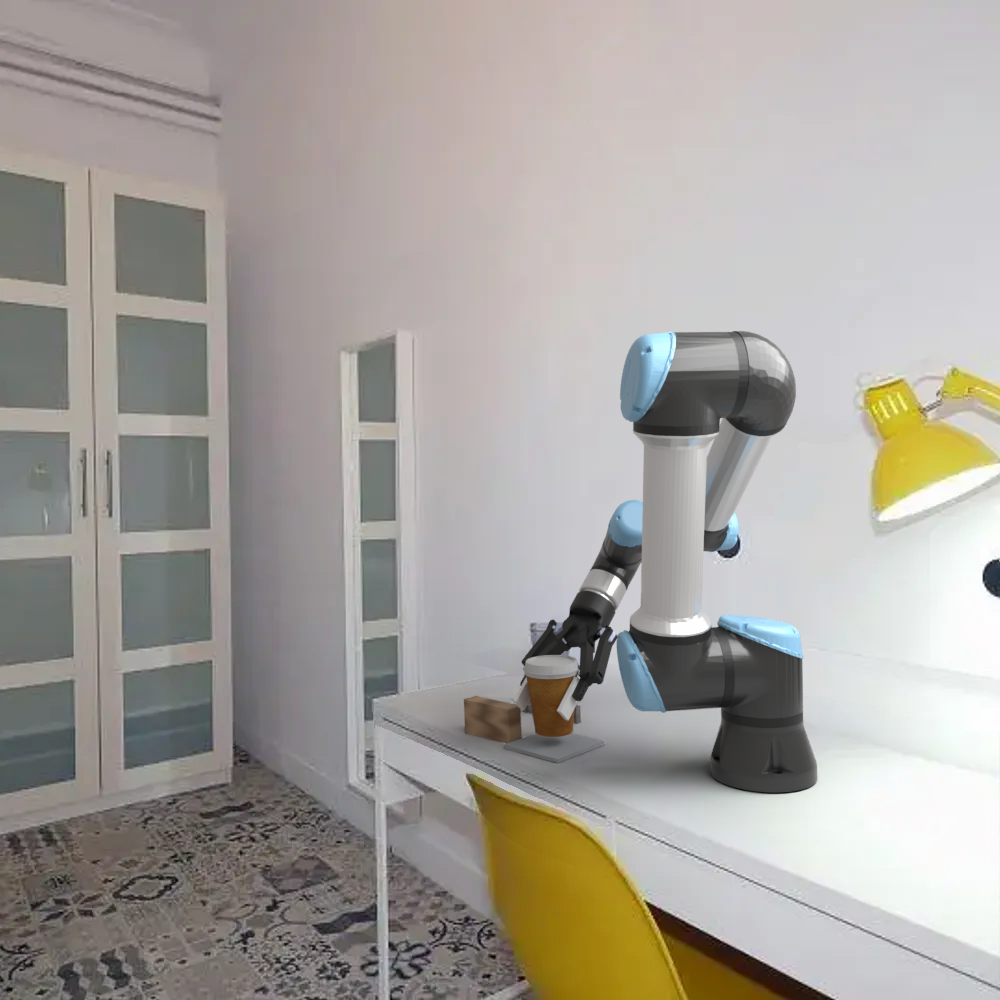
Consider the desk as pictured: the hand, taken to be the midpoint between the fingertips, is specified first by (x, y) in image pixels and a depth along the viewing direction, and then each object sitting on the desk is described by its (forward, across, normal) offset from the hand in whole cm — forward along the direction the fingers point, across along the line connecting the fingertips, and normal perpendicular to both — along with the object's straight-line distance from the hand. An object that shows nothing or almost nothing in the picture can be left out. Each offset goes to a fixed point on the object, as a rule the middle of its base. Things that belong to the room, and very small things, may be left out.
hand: (540, 710), depth 142 cm
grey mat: (+3, 0, -7) cm, 7 cm away
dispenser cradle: (-1, +12, -10) cm, 16 cm away
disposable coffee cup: (+1, 0, -5) cm, 5 cm away
